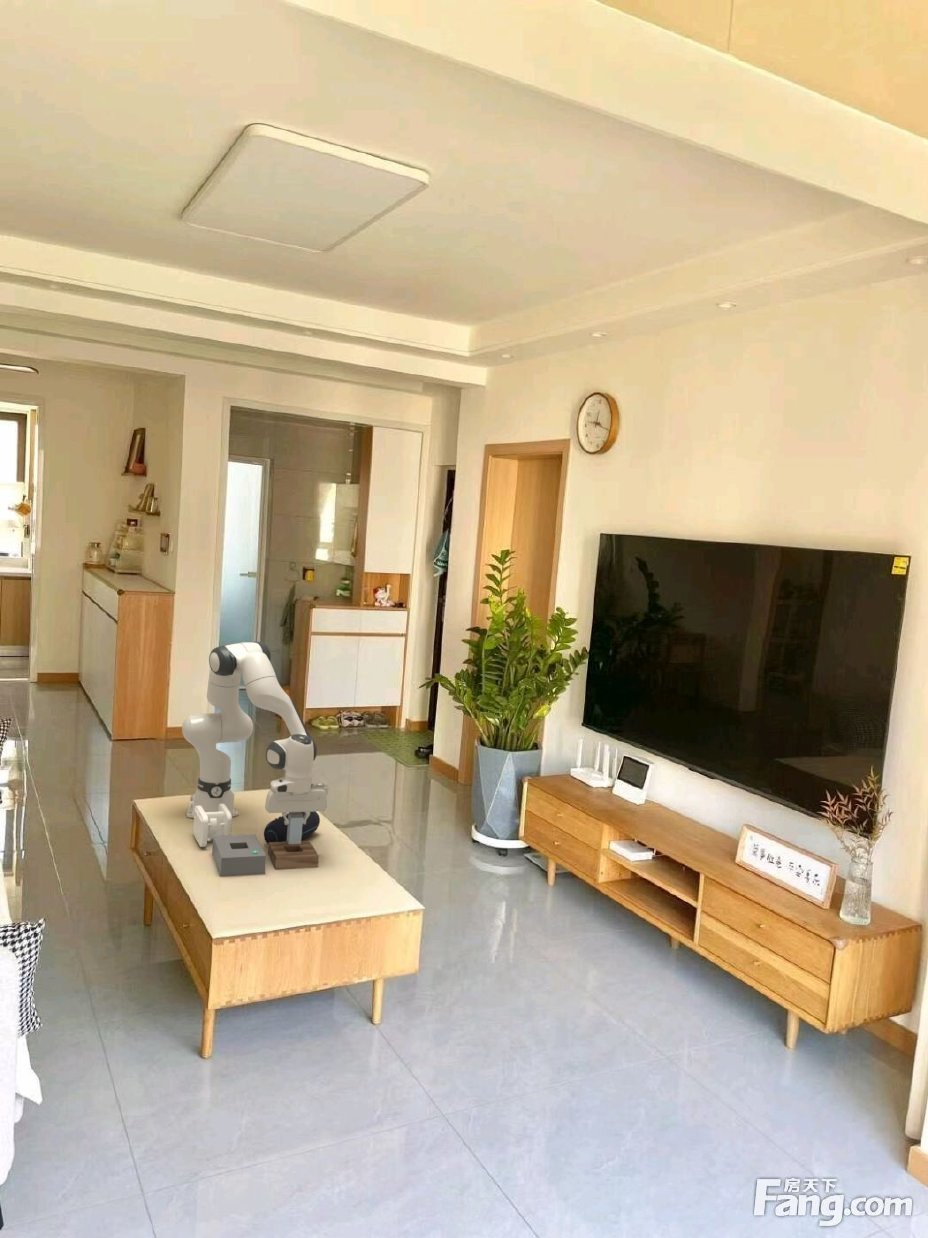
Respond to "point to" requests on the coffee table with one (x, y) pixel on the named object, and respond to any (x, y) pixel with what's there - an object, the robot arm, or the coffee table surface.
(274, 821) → the portable speaker
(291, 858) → the square wooden frame
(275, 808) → the robot arm
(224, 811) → the cable organizer
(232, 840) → the port box
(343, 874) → the coffee table surface
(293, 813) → the plug
